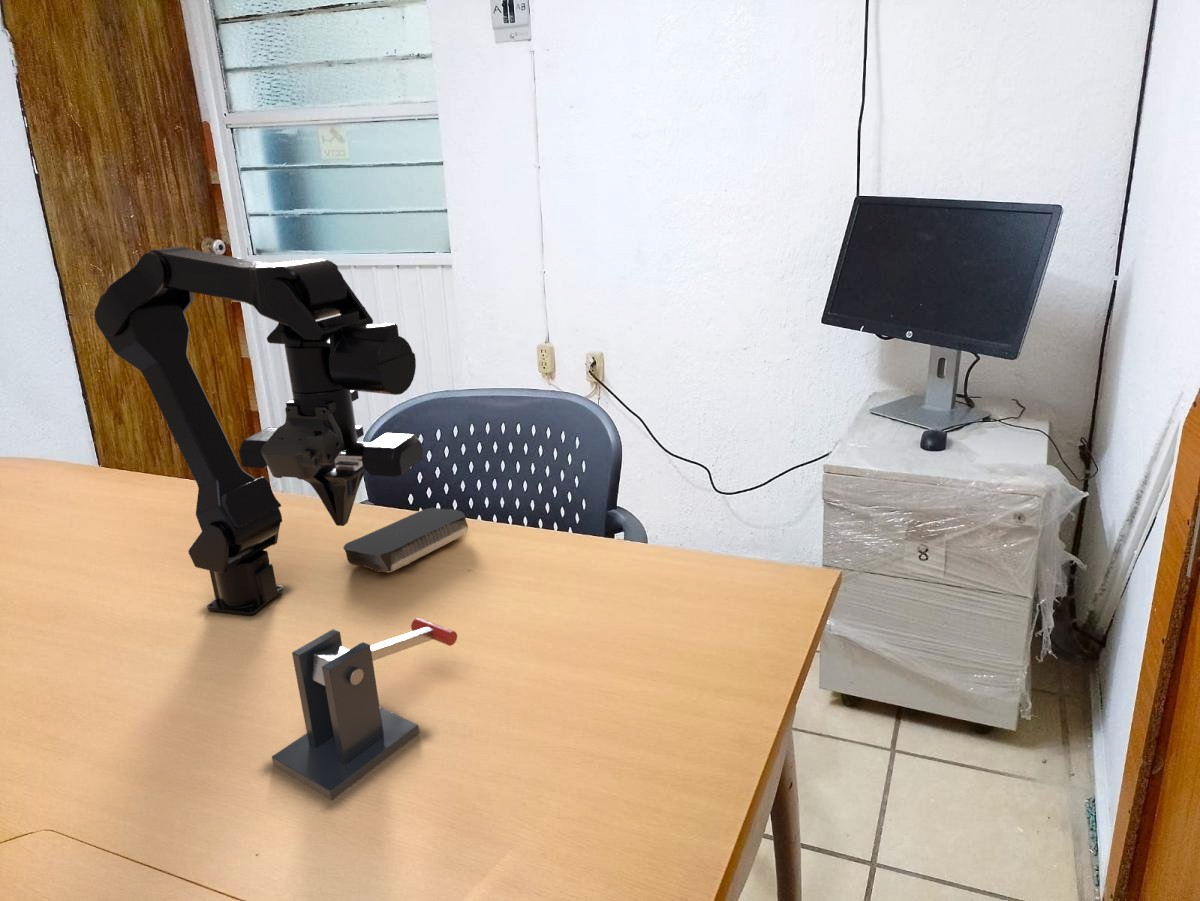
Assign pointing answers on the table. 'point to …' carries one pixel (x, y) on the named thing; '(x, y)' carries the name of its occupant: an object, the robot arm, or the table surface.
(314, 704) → the bracket
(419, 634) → the lever
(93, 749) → the table surface
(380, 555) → the whiteboard eraser
